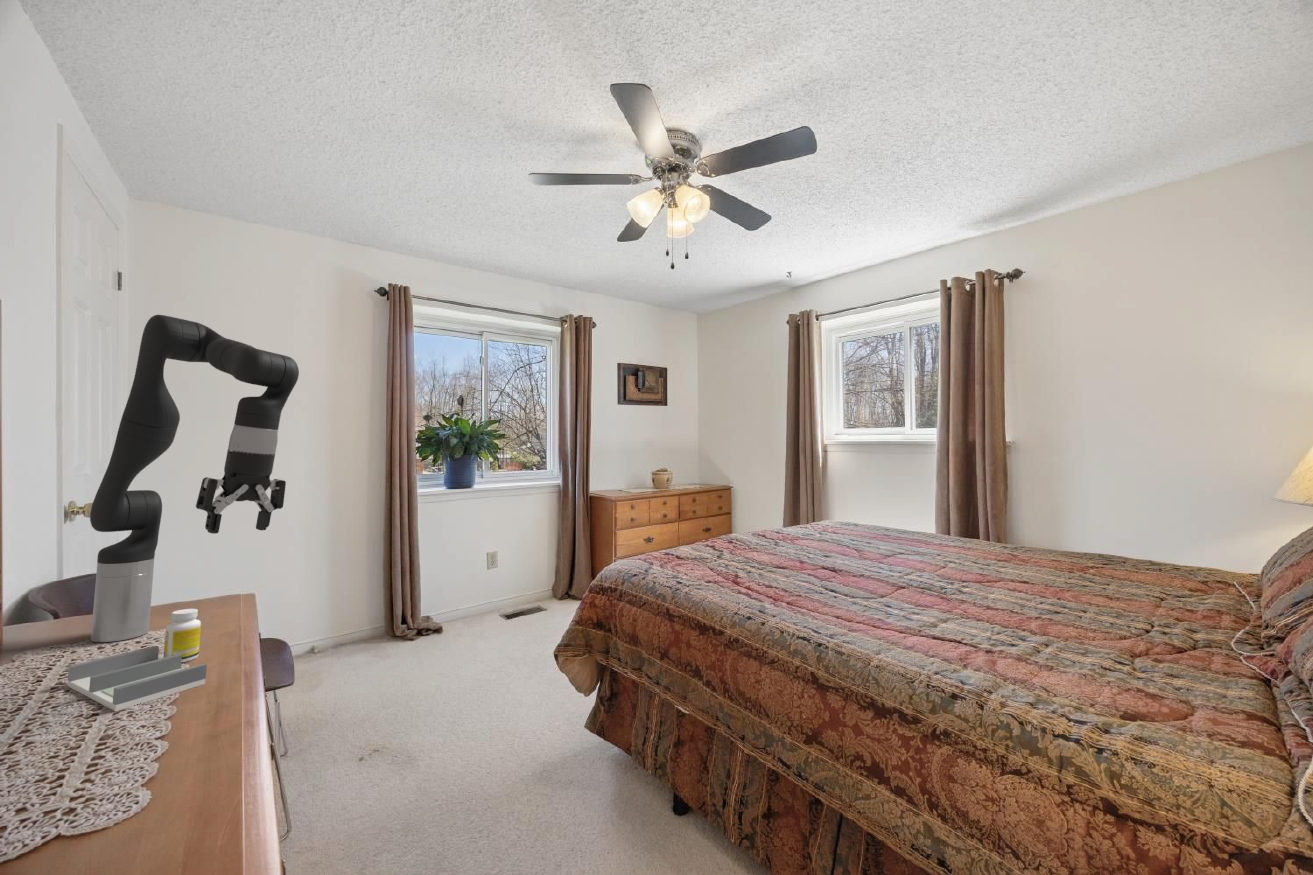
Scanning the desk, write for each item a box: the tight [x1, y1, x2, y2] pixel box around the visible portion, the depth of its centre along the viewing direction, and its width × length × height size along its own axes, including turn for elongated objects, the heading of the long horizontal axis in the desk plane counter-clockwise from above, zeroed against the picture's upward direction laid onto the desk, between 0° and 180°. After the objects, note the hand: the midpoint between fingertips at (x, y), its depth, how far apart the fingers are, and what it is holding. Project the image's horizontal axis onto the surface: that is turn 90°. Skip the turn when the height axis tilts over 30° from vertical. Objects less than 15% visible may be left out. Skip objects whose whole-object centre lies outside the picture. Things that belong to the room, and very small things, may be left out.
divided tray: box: [66, 645, 207, 712], centre depth 94 cm, size 20×12×4 cm, turn 64°
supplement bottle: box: [163, 608, 202, 664], centre depth 106 cm, size 5×5×10 cm
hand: (237, 531), depth 101 cm, fingers open, 8 cm apart
